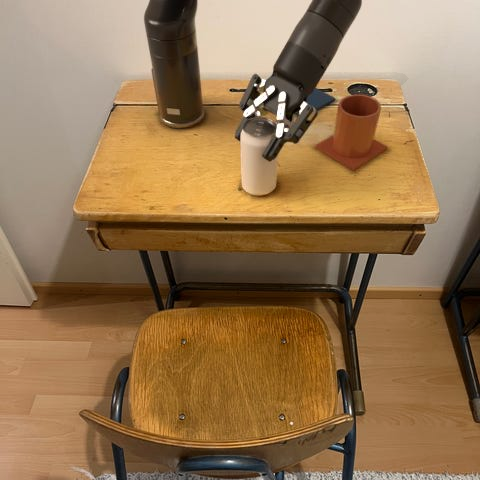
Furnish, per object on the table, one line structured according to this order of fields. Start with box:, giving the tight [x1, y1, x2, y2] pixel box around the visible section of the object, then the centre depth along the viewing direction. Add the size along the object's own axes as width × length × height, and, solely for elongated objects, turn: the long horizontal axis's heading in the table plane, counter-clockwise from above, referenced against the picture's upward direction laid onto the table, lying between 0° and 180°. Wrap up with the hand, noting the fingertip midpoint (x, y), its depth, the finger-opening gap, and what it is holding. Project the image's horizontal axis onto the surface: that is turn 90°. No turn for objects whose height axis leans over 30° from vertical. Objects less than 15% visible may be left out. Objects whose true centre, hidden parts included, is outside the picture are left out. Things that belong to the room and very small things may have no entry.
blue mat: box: [295, 87, 336, 117], centre depth 102 cm, size 10×10×1 cm
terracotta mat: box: [315, 135, 389, 172], centre depth 92 cm, size 10×10×1 cm
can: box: [239, 116, 279, 197], centre depth 81 cm, size 6×6×12 cm
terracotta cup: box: [332, 93, 382, 158], centre depth 88 cm, size 8×8×9 cm
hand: (252, 149), depth 79 cm, fingers closed on can, 6 cm apart
